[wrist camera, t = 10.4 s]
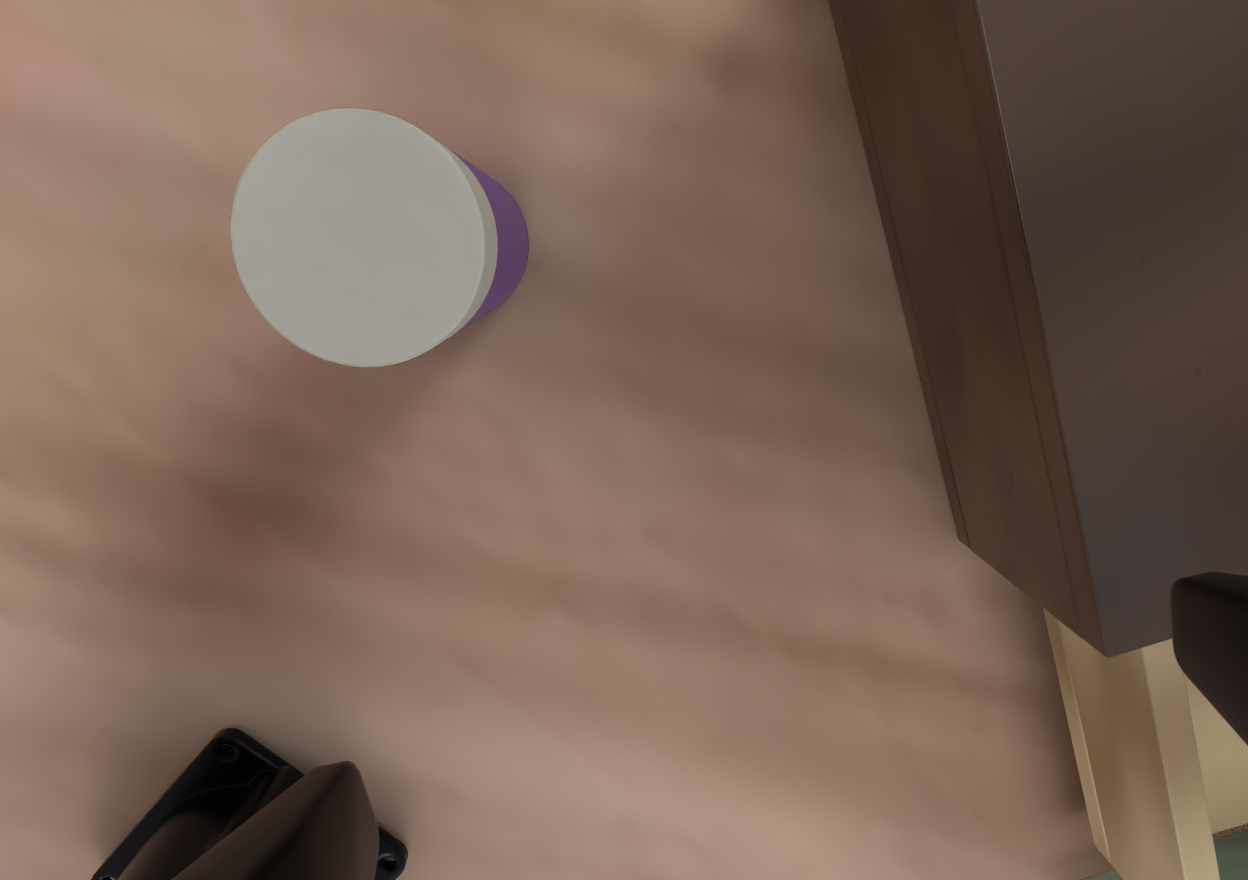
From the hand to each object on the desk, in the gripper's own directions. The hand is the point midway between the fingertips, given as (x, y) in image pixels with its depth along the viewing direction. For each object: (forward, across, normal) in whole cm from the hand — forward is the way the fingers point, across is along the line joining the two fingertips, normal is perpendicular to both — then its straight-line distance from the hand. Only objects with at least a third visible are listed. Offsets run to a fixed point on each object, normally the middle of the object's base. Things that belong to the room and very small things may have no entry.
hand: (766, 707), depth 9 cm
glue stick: (+13, +4, -6) cm, 15 cm away
